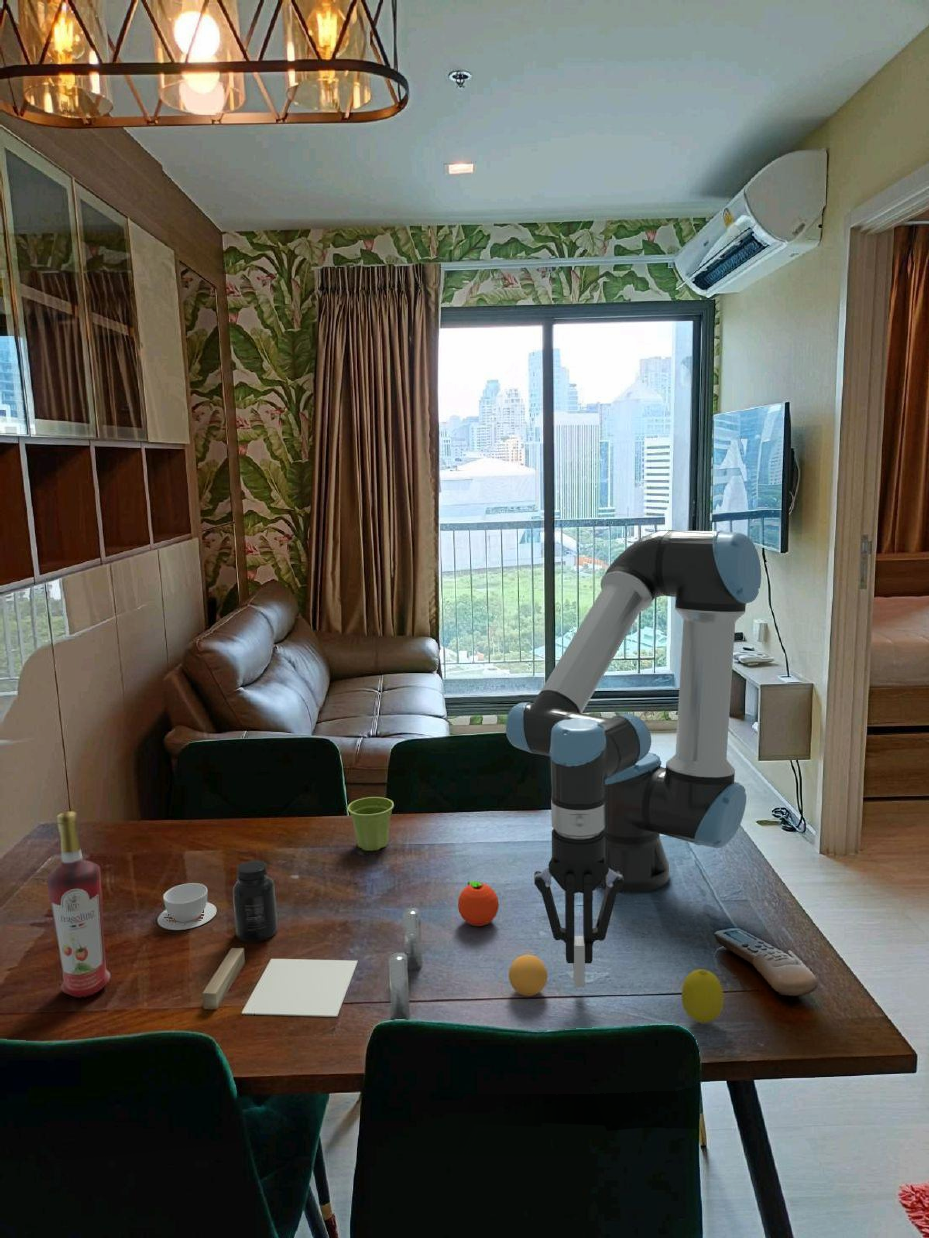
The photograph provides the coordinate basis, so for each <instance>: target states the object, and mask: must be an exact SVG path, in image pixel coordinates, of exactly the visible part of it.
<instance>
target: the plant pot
mask: <svg viewBox="0 0 929 1238" xmlns="http://www.w3.org/2000/svg"><path fill="white" fill-rule="evenodd" d="M394 807H395V804H394V801H393V800H392V799H389V798H387V797H386V798H385V797H381V796H369V797H362V798H359V799H356V800H353V801H351V803H349V804H348V806H347V811H348V813H350V817H351V818H352V823H353V827H354V832H355V837H356V842H357V846H358V848H361V849H362V850H363V851H368V852H369V851H372V852H373V851H374V850H375V851H378V850H380V849H381V848H385V847H387V846H388V843H389V831H390V822H391V814H392V812H393V811H392V810H393V809H394Z"/></svg>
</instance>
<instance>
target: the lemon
mask: <svg viewBox="0 0 929 1238" xmlns="http://www.w3.org/2000/svg"><path fill="white" fill-rule="evenodd" d="M681 1003H682V1007H683V1009H684V1010H685V1012H686V1014H687V1015H688V1016H689V1017H690V1018H691V1019H692V1020H694V1021H695V1022H698V1023H699V1024H701V1025H703V1024H706V1023H707V1024H708V1023H712V1022H713V1021H715V1020H716V1019H717V1018H718V1017H719V1016H720V1015H721V1013H722V1010H723V1008H724V991H723V987H722V984H721V982H720V979H719V978H718V977H717V976H716V975H715V974H714V973H713V972H712V971H709V970H706V969H704V968H700V969H695V970H692V971H691V972H690V973H688V974H687V975H686V977H685V979H684V981H683V984H682V988H681Z"/></svg>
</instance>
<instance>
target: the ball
mask: <svg viewBox="0 0 929 1238" xmlns="http://www.w3.org/2000/svg"><path fill="white" fill-rule="evenodd" d="M508 979H509V983H510V985H511V987H512V988H513V990H514V991H515V992H517V993H518V994H519V995H522V996H526V997H531V996H532V997H533V996H535V995H538V994H539V993H541V991H543V989H544V988H545V987H546V984H547V980H548V971H547V968H546V965H545V964H544V963H543V961H542V960H541V959H540V958H539V957H537V956H535V955H532V954H524V955H523V954H522V955H520V956H518V957H517V958H515V959H514V961H513V962H512V963H511V965H510V967H509V970H508Z"/></svg>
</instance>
